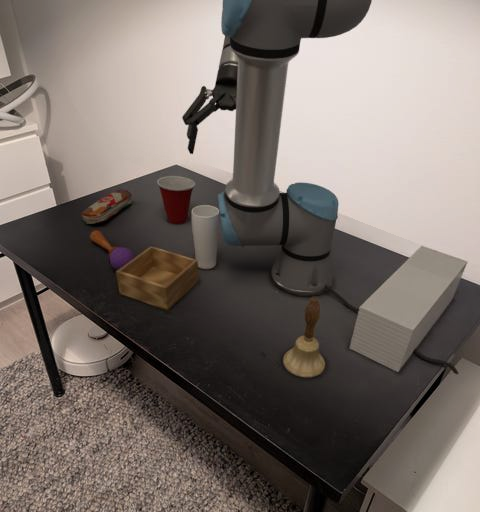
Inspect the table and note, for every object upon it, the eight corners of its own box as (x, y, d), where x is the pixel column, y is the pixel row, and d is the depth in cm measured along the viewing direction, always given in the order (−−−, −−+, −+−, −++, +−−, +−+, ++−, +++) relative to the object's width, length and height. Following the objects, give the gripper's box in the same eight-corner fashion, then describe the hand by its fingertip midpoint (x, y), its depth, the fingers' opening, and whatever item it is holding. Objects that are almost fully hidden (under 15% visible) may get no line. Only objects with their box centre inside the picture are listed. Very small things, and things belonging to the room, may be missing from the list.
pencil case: (71, 219, 134) (68, 203, 131) (121, 198, 147) (119, 183, 144) (97, 230, 129) (94, 214, 126) (146, 207, 142) (144, 192, 139)
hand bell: (329, 377, 87) (344, 311, 77) (286, 378, 86) (296, 312, 76) (320, 348, 93) (332, 283, 83) (280, 349, 93) (288, 284, 83)
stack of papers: (398, 372, 89) (413, 330, 82) (349, 348, 94) (359, 306, 87) (452, 300, 109) (467, 261, 102) (409, 283, 114) (421, 245, 107)
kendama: (106, 224, 124) (139, 251, 110) (106, 245, 126) (138, 273, 113) (85, 226, 120) (115, 253, 107) (85, 247, 123) (115, 276, 110)
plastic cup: (203, 222, 135) (202, 183, 128) (170, 231, 130) (168, 191, 123) (185, 209, 142) (183, 171, 135) (153, 216, 137) (150, 178, 130)
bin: (198, 281, 111) (197, 260, 107) (167, 310, 101) (165, 288, 98) (152, 267, 115) (150, 245, 112) (119, 293, 106) (115, 271, 102)
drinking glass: (192, 258, 119) (190, 204, 110) (218, 257, 120) (218, 204, 111) (193, 272, 114) (191, 217, 105) (220, 271, 115) (220, 217, 105)
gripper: (283, 87, 114) (268, 167, 112) (188, 78, 117) (172, 156, 115) (282, 67, 106) (266, 152, 104) (180, 58, 110) (163, 140, 108)
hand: (217, 154), depth 110 cm, fingers open, 13 cm apart
